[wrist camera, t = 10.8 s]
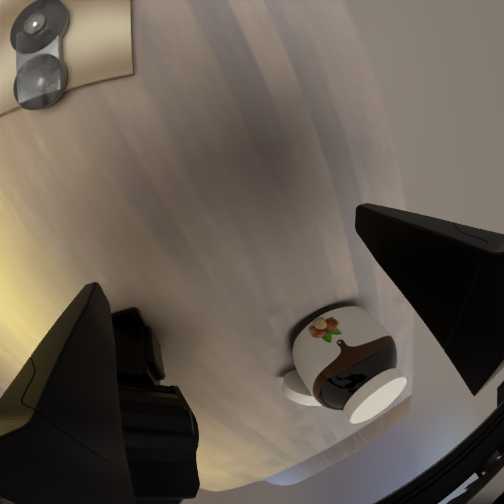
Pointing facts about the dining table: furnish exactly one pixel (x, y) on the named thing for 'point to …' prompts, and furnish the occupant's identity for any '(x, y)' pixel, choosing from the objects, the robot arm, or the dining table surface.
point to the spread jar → (344, 363)
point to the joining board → (75, 44)
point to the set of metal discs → (40, 54)
